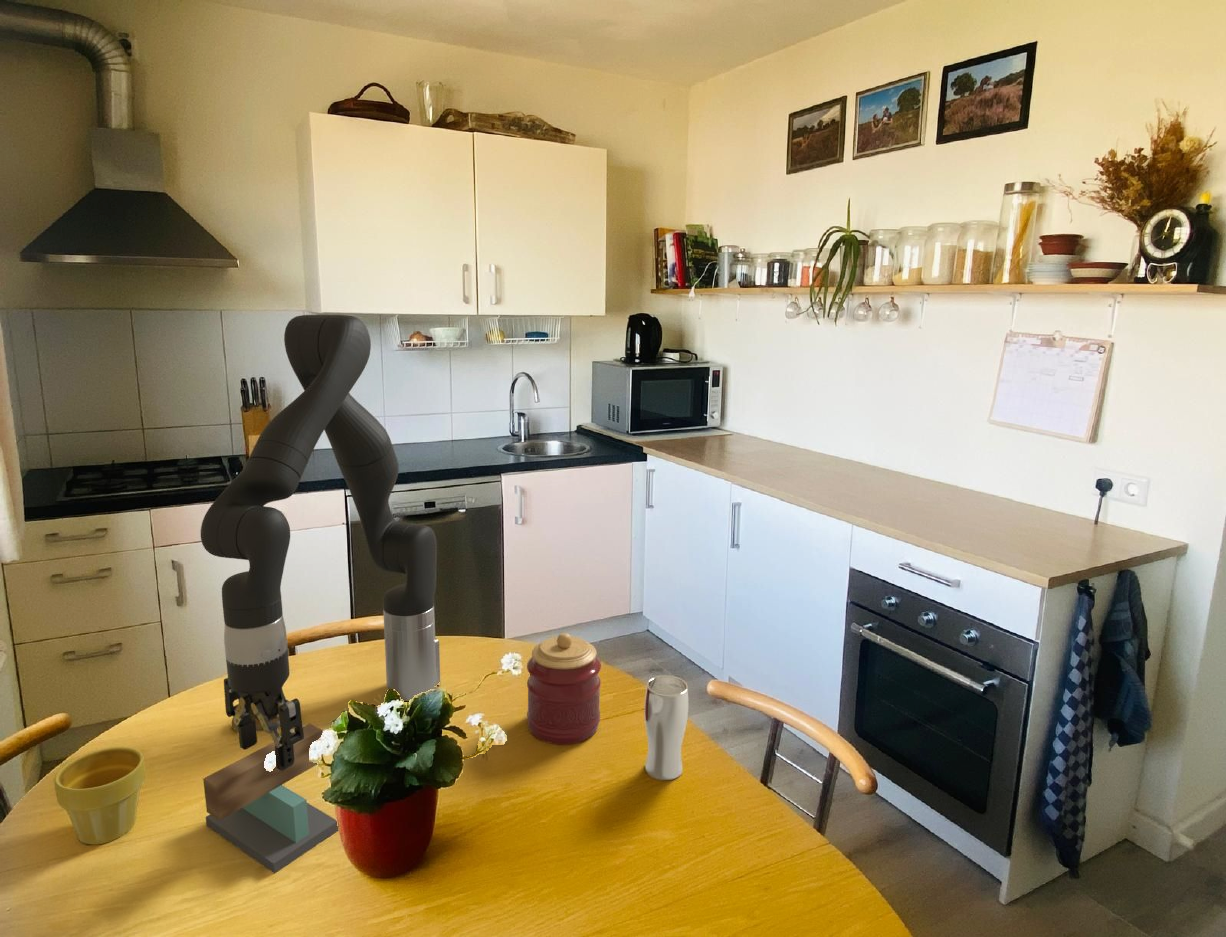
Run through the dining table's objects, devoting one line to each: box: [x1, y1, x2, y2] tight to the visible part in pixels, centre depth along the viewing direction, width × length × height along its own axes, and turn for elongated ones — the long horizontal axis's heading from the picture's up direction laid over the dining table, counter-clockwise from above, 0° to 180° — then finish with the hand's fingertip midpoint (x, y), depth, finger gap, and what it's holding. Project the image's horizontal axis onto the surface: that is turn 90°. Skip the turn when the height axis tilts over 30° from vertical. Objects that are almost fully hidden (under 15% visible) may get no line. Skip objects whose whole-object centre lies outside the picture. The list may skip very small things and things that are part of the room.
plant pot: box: [53, 746, 146, 845], centre depth 106 cm, size 10×10×10 cm
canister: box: [526, 632, 602, 745], centre depth 133 cm, size 13×13×18 cm
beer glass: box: [643, 674, 689, 781], centre depth 122 cm, size 7×7×15 cm
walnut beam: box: [202, 723, 324, 820], centre depth 105 cm, size 16×3×5 cm, turn 147°
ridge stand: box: [205, 784, 339, 874], centre depth 107 cm, size 10×16×7 cm, turn 57°
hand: (266, 756), depth 105 cm, fingers open, 8 cm apart
